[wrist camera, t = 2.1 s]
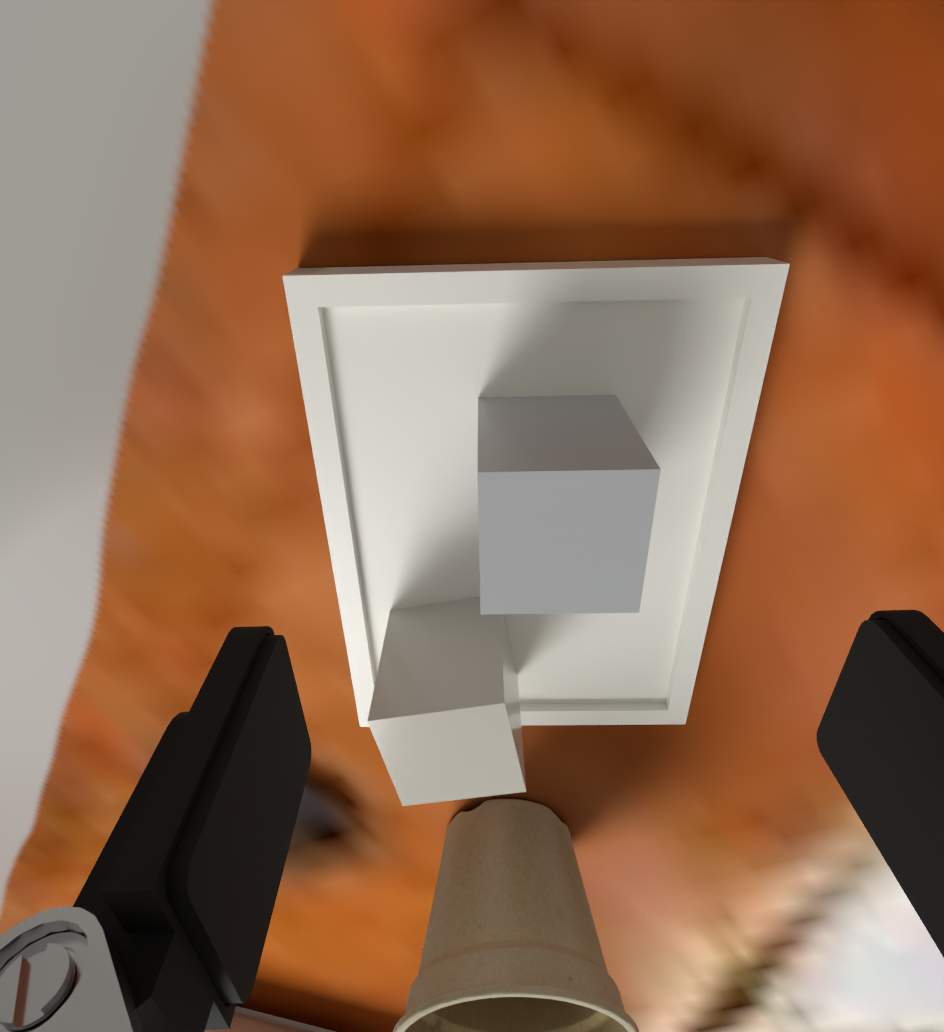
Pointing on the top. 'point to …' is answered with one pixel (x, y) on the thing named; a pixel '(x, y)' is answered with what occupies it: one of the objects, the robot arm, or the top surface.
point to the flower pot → (511, 932)
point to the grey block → (562, 505)
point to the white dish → (520, 373)
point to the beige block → (448, 704)
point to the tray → (265, 1023)
